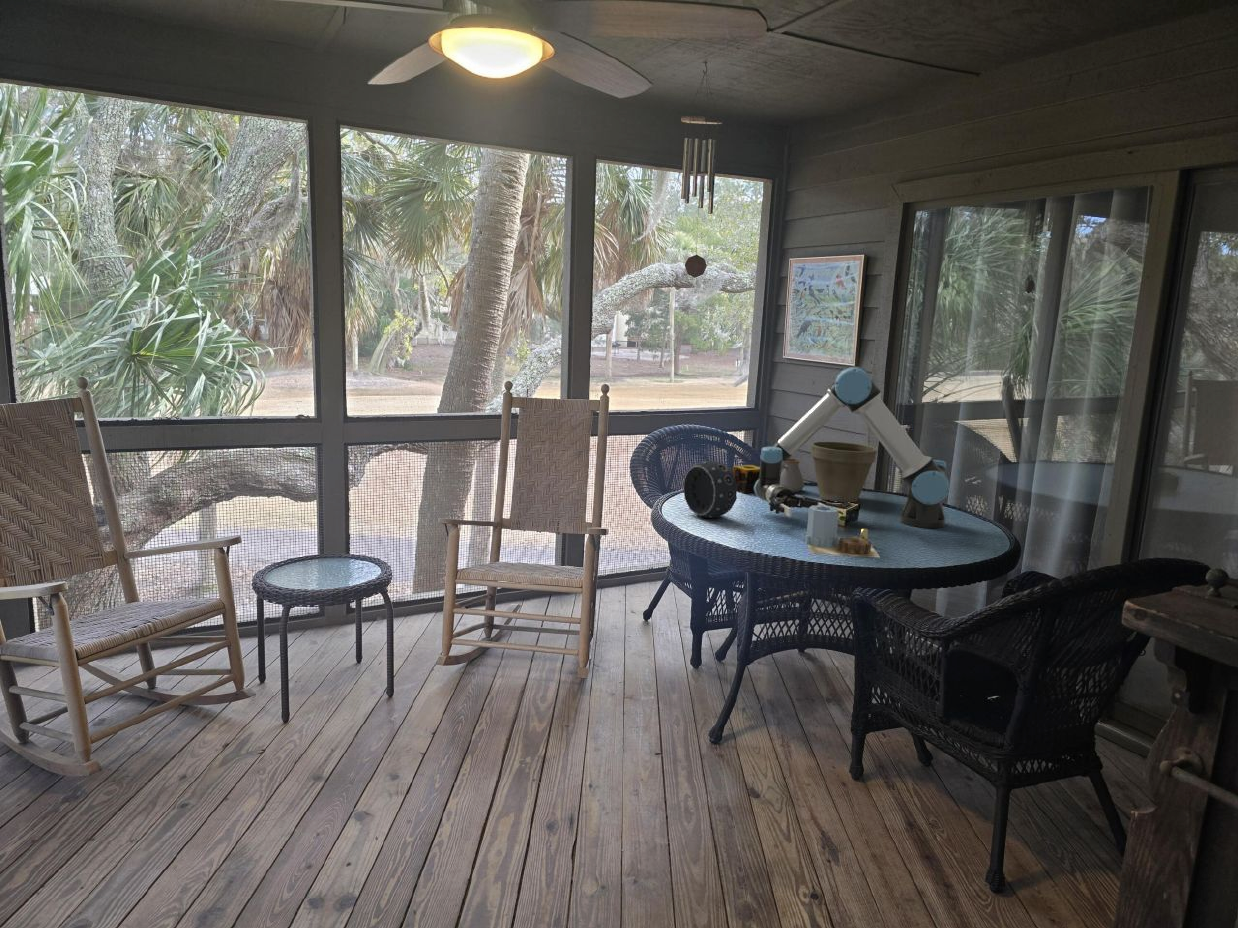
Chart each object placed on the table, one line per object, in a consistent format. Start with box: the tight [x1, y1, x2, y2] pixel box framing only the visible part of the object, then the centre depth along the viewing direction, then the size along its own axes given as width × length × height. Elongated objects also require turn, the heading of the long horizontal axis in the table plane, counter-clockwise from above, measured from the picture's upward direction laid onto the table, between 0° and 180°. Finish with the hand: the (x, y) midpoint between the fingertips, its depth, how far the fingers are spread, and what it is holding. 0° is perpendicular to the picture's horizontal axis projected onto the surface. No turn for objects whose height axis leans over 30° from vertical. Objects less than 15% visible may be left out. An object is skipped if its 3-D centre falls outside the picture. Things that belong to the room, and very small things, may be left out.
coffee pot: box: [780, 458, 805, 494], centre depth 329 cm, size 21×12×15 cm, turn 125°
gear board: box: [806, 543, 881, 559], centre depth 246 cm, size 20×17×2 cm
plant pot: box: [810, 441, 878, 503], centre depth 318 cm, size 25×25×22 cm
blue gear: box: [803, 505, 840, 548], centre depth 249 cm, size 10×10×11 cm
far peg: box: [859, 527, 869, 540], centre depth 249 cm, size 2×2×5 cm
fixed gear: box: [838, 535, 872, 555], centre depth 243 cm, size 9×9×4 cm
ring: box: [682, 460, 738, 519], centre depth 283 cm, size 11×20×20 cm, turn 33°
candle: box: [732, 464, 760, 495], centre depth 329 cm, size 10×10×10 cm
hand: (809, 512), depth 258 cm, fingers open, 13 cm apart
